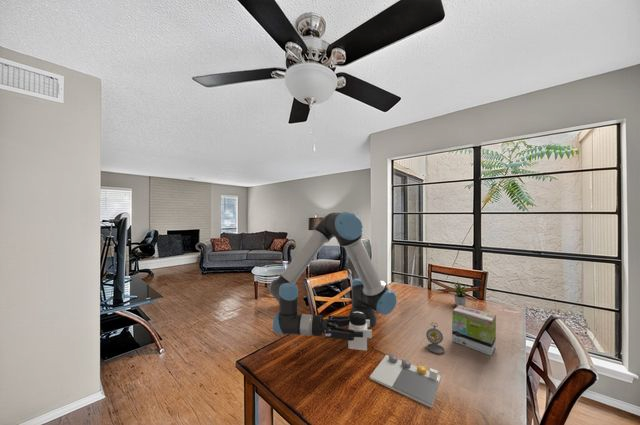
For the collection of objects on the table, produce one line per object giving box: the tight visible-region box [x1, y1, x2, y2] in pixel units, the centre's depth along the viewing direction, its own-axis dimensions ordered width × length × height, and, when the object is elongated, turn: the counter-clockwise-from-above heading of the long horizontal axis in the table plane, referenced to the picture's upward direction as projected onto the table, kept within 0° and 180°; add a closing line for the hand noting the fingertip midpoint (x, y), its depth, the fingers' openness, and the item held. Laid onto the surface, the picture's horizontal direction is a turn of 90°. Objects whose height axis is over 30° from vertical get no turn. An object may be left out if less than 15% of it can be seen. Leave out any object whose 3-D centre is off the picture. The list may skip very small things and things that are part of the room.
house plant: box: [449, 279, 473, 307], centre depth 149 cm, size 14×14×16 cm
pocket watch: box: [425, 322, 445, 355], centre depth 99 cm, size 8×8×10 cm
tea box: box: [451, 305, 497, 357], centre depth 103 cm, size 15×10×15 cm
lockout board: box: [369, 354, 442, 409], centre depth 81 cm, size 20×16×3 cm
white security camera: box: [347, 312, 369, 351], centre depth 89 cm, size 7×7×12 cm
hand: (370, 328), depth 88 cm, fingers closed on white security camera, 7 cm apart
